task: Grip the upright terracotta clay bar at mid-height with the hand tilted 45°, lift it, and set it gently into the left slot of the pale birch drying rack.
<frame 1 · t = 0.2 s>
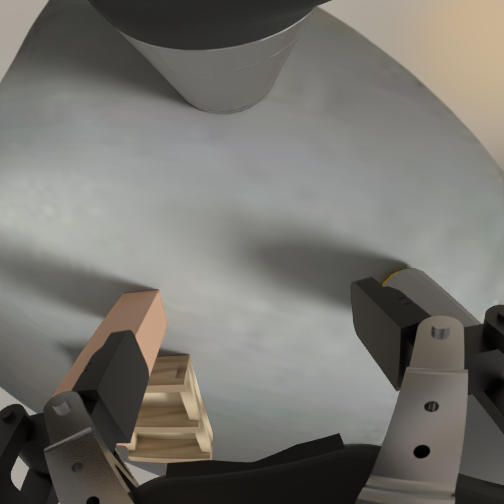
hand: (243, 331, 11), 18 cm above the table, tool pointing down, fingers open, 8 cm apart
clay bar: (145, 309, 30), on the table
rack: (159, 401, 34), on the table
soap bottle: (398, 292, 32), on the table
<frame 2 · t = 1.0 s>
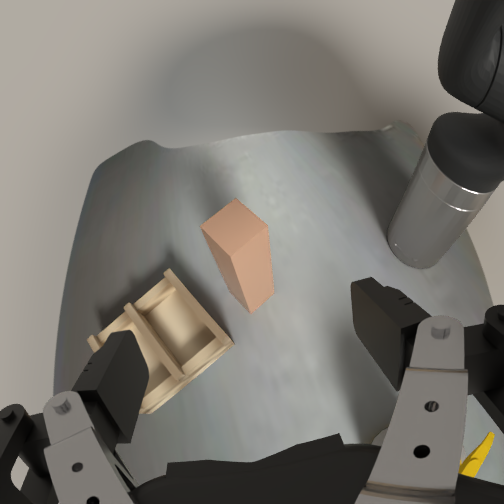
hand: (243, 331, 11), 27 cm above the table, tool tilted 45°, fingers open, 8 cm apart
clay bar: (252, 292, 40), on the table
rack: (165, 347, 37), on the table
soap bottle: (391, 450, 29), on the table
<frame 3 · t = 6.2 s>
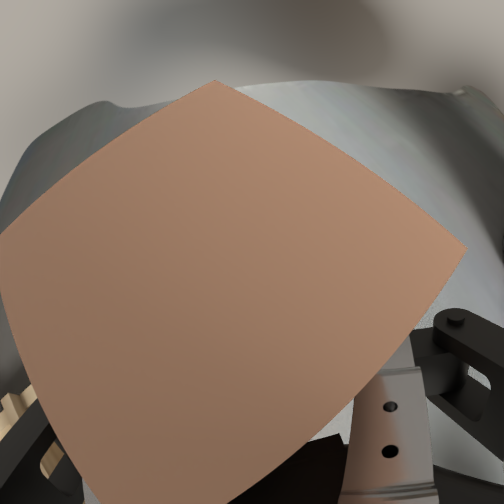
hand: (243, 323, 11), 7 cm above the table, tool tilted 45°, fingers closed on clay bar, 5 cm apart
clay bar: (264, 384, 17), on the table, touching gripper
rack: (92, 472, 14), on the table
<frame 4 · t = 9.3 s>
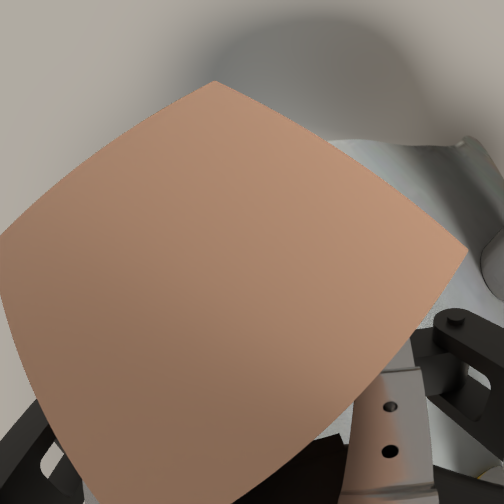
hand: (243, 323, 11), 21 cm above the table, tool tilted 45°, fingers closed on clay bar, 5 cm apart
clay bar: (264, 384, 17), point 14 cm above the table, touching gripper
soap bottle: (483, 490, 19), on the table
when the fingers open (10 cm above the table, at t = 12.6 s): clay bar drops 1 cm, resting on rack.
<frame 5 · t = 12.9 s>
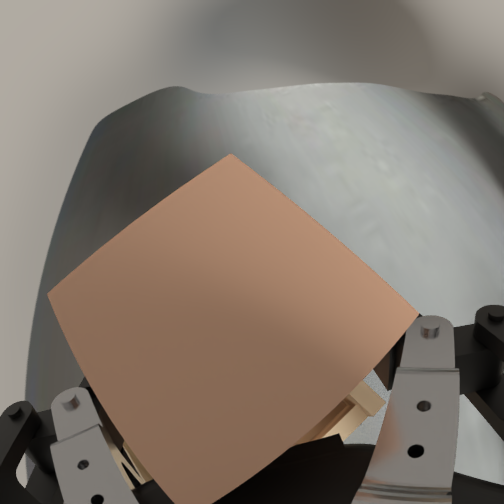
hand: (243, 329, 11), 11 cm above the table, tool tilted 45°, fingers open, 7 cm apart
clay bar: (265, 388, 18), point 1 cm above the table, touching rack
rack: (229, 418, 19), on the table
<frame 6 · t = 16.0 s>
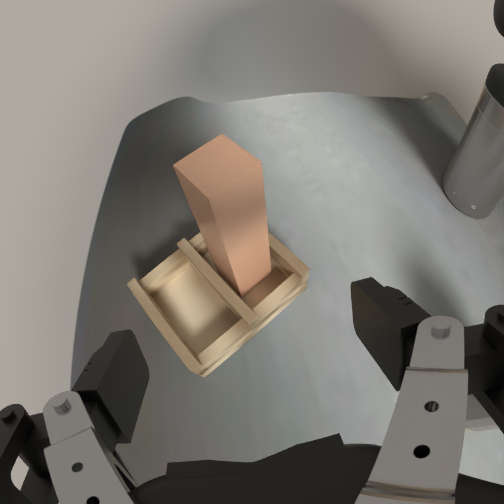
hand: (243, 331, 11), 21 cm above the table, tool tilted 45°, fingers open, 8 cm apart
clay bar: (244, 272, 33), point 1 cm above the table, touching rack
rack: (222, 296, 33), on the table
soap bottle: (473, 401, 25), on the table
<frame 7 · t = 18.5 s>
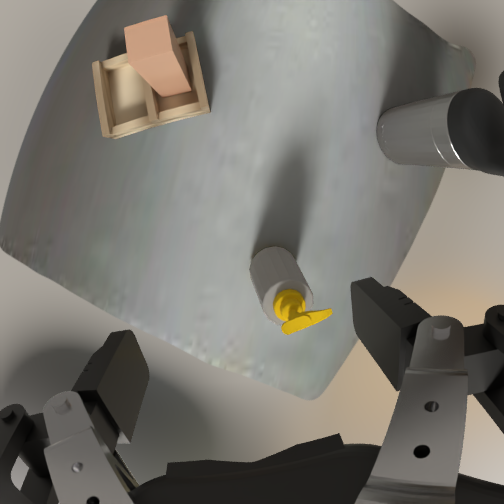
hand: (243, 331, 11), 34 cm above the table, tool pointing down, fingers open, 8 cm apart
clay bar: (174, 81, 37), point 1 cm above the table, touching rack
rack: (154, 89, 38), on the table
soap bottle: (272, 266, 47), on the table
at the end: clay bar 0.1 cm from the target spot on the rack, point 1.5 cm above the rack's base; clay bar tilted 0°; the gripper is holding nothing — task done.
